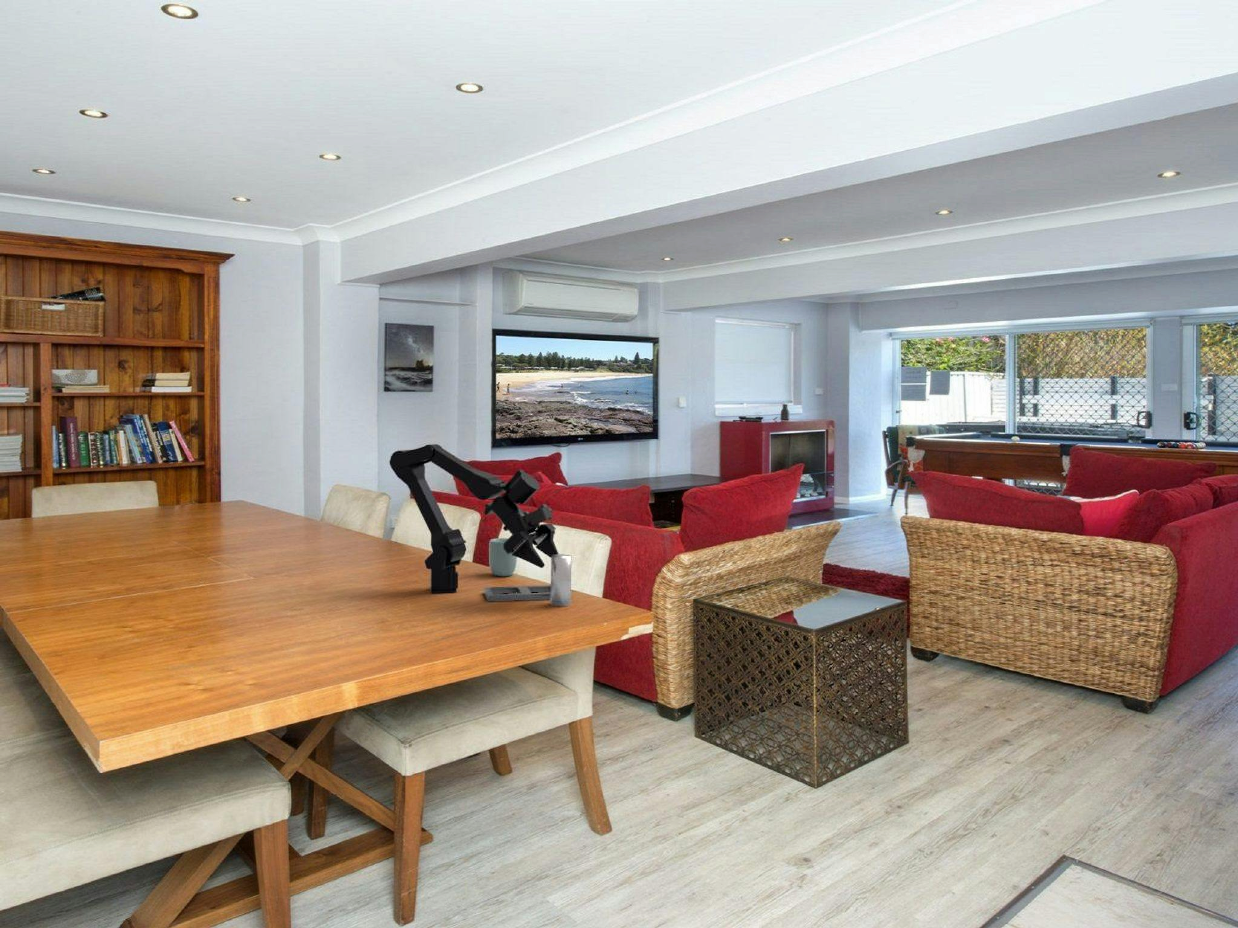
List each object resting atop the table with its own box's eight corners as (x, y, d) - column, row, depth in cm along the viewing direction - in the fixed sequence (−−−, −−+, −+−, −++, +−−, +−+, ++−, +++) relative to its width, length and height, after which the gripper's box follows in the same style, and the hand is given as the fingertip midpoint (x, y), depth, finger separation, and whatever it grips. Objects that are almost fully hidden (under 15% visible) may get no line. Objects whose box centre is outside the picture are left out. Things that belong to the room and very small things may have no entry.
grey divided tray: (488, 601, 221) (488, 595, 221) (483, 592, 230) (483, 587, 230) (567, 598, 226) (567, 592, 226) (560, 590, 236) (560, 584, 235)
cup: (511, 578, 249) (512, 543, 249) (485, 576, 251) (485, 541, 250) (520, 573, 257) (520, 538, 256) (494, 571, 259) (494, 537, 258)
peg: (552, 607, 217) (553, 558, 216) (548, 602, 222) (549, 554, 221) (572, 606, 218) (573, 557, 217) (568, 601, 223) (569, 553, 222)
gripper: (515, 498, 212) (556, 547, 209) (549, 491, 230) (588, 537, 226) (485, 529, 215) (526, 578, 212) (521, 520, 233) (559, 565, 230)
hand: (551, 563), depth 220 cm, fingers open, 9 cm apart
